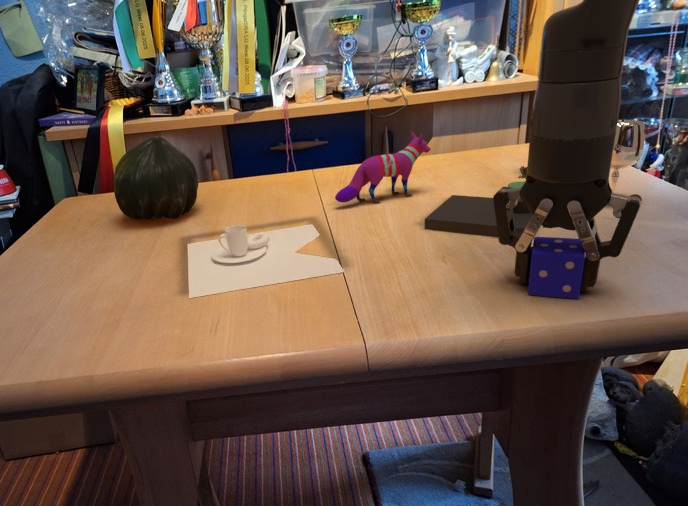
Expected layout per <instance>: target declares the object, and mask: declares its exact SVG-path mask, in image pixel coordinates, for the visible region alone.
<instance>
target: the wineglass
mask: <svg viewBox="0 0 688 506" xmlns="http://www.w3.org/2000/svg"><path fill="white" fill-rule="evenodd" d="M645 138H646V137H645V125H644V121H642V120H637V119H636V120H635V119H618V123H617V128H616V136H615V142H614V148H613V155H612V161H611V168H610V170H611V169H612V170H613V171H612V173H611V175H610V180H611V189H612V193H615V191H616V186H617V183H618V181H619V179H620V171H619V170H623V169H627V168H629V167H632V166H633V165H635V164H637V163H638V161H640V159H641V157H642V156H643V154H644V153H643V152H644V149H645V142H646V141H645V140H646V139H645Z"/></svg>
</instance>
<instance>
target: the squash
mask: <svg viewBox="0 0 688 506" xmlns="http://www.w3.org/2000/svg"><path fill="white" fill-rule="evenodd" d="M112 184H113V185H112V186H113V187H112V188H113V192H114V193H113V194H114V198H115V201H116V204H117V206H118V208H119V210H120V212H121V213H122V214H123V215H124V216H125V217H127V218H129V219H131V220H134V221H143V220H145V221H146V220H147V221H149V220H152V219H156V220H161V219H163V218H165V219H166V220H176V219H179V218H180V217H181V216H185V215H186V214H188V213H189V212H190V211H191V210H192V209H193V207H194V205H195V204H196V202H197V198H198V189H199V176H198V171H197V169H196V166H195V165H194V163H193V161H192V160H191V158H190V157H189V156H187V155H186V154H185V153H184V152H182V151H181V150H180V149H179V148H177V147H176V146H175V145H173V144H172V143H171V142H170V141H168V139H167V140H166V139H165V138H163V137H162V136H153V137H149V138H148V139H146V140H143V141H142V142H140V143H139V144H137V145H136V146H134V147H132V148H131V149H129V150H128V151H126V152H125V153H124V154H123V156H121V158H120V159H119V160H118V162H117V164H116V166H115V168H114V174H113V179H112Z"/></svg>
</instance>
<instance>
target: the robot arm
mask: <svg viewBox="0 0 688 506" xmlns="http://www.w3.org/2000/svg"><path fill="white" fill-rule="evenodd" d="M640 1H641V0H582V1H581V2H580V3H578V4H575V5H573V6H570V7H567V8H564V9H561V10H559V11H556V12H554V13H552V14H551V15H549V17H548V18H547V19H546V21H545V22H544V25H543V27H542V33H541V40H540V41H541V42H540V53H539V62H538V63H539V64H538V74H537V85H536V89H535V94H534V98H533V103H532V110H531V116H530V120H529V129H530V132H529V143H528V156H527V157H528V158H527V164H526V165H527V166H526V167H527V175H526V176H525V181H524V182H525V183H524V185H523V186H522V187H521V188H512V189H509V188H508V186H502V187H500V188H499V189H498V190H497V191H496V192H495V194H494V195H493V197H492V198H493V201H494V209H495V216H496V223H497V230H498V237H497V238H498V242H499V244H500V245H502V246H509V247H512V248H513V249H514V250H515V263H514V275H515V277H516V278H519V283H523V284H527V283H529V277H530V267H531V256H532V249H533V246H532V242H533V241H534V238H535V237H536V236H537V234H538V232H539V231H540V229H541V228H543V229H555V228H560V229H563V230H567V231H575V232H576V234H577V239H579V240H580V242H581V243H582V245H583V248H584V251H585V260H584V267H583V274H582V281H581V288H580V292H586V293H587V292H588V290H589V288H594V286H595V285H596V283H597V282H598V281H597V280H598V279H599V271H600V265H601V260H602V259H604V258H608V257H610V258H617V257H619V256H620V255H621V252H622V251H623V248H624V246H625V243H626V241H627V239H628V236H629V234H630V231H631V229H632V227H633V225H634V222H635V220H636V218H637V215H638V212H639V211H640V207H641V204H642V200H643V199H642V196H641V195H640V194H635V193H634V194H631V195H629V196H628V195H625V194H620V193H615V192H614V193H612V186H611V185H610V179H609V178H610V173H611V161H612V155H613V148H614V142H615V136H616V128H617V123H618V120H619V115H620V110H621V101H622V75H623V68H624V64H625V63H624V62H625V55H626V49H627V43H628V36H629V30H630V27H631V24H632V21H633V19H634V16H635V13H636V10H637V8H638V6H639V3H640ZM519 198H521V199H522V201H523V202H524V204H525V205H526V207H527V208H528V210H529V211H530V213H531V214H532V218H531V219H530V221H529V223H528V225H527V226H526V228H525V230H524V231H523V233H522V234H521V233H518V232H516V231H515V223H514V215H513V208H514V207H515V206H516V205H517V201H518V199H519ZM609 205H610V207H612V215H613V217H614V218H616V219H618V222H617V225H616V227H615V228H614V229H615V230H614V232H613V234H612V236H611V239H610V240H604V241H601V240H602V239H601V237H600V233H599V229H598V228H599V227H598V224H597V221H596V218H595V217H596V216H597V215H598V214H600V213H601V211H603V210H604V208H606V207H607V206H609Z"/></svg>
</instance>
